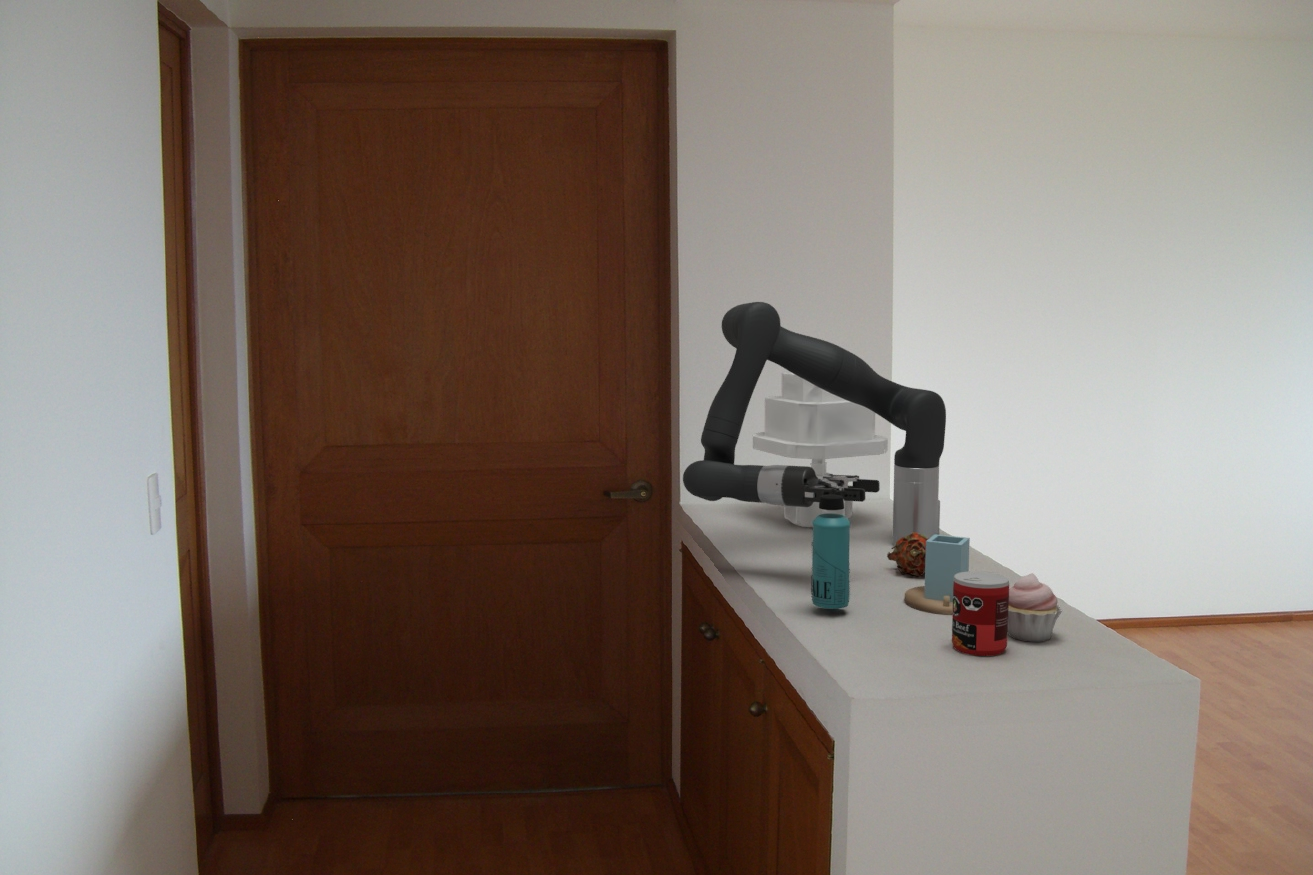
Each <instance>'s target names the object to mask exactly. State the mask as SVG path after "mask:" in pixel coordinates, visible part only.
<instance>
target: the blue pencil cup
mask: <svg viewBox="0 0 1313 875" xmlns="http://www.w3.org/2000/svg"><path fill="white" fill-rule="evenodd" d="M970 541H971V540H970V537H966V536H965V537H963V536H955V535H947V534H946V535H945V534H939V535H936V534H935V535H933V536H932V537H931V538H929V539H928V540H927V541H926V556H925V572H924V586H925V592H924V598H925V599H933V600H941V601H943V596H949V597H950V602H953V584H954V575H955V574H957V573H961V572H968V571H969V566H970V564H969V563H970Z"/></svg>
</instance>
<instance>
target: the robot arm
mask: <svg viewBox="0 0 1313 875" xmlns="http://www.w3.org/2000/svg"><path fill="white" fill-rule="evenodd" d="M722 317H723V318H722V319H721V330H722V334H723V337H724V339H725V340H726V341H727V343H728V344H729V345H731V346H732V347H733V348H734V349H735V354H734V358H733V361H732V364H731V366H730V368H729V370H728V373H727V374H726V376H725V377H724V378H725V379H724V380H723V382H722V384H721V385H720V387H719V389H718V391H717V392H716V394H715V396H714V397H713V400H712V402H711V404H710V407H709V409H708V412H707V415H706V420H705V422H704V426H703V429H702V432H701V437H700V444H701V445H702V447H703V449H704V454H703V460H696V461H693V462H692V463H690V464H689V465H688V466H687V467H686V468H685V470H684V472H683V474H682V483H683V486H684V488H685V490H687V492H688V493H689V494H690V495H692V496H693V497H697V498H699V499H702V500H706V501H709V502H716V501H719V500H721V499H723V498H729V499H733V500H738V501H741V502H747V503H758V504H760V503H761V504H762V503H763V504H768V505H773V506H781V507H782V506H783V507H784V506H795V507H810V506H811V505H812V504H813V502H819V501H820V496H822V495H840V496H842V497H843V499H844V501H853V502H861V503H862V502H864V501H865V500H866V493H878V492H880V488H881V487H880V480H878V479H865V478H860V475H857V474H855V475H849V474H848V475H846V474H845V475H844V474H833V473H830V475H827V476H823V478H817V477H816V475H815V471H814V469H813V468H812V467H811V466H809V465H808V466H807V465H806V466H805V465H803V466H802V465H785V464H784V465H783V464H772V465H771V464H770V465H757V464H735V458H736V454H735V453H736V446H737V444H738V440H739V438H740V434H741V430H742V428H743V424H744V420H745V416H746V414H747V410H748V407H749V404H750V401H751V399H752V396H753V393H754V392H755V391H754V390H755V388H756V386H757V383H758V381H759V378H760V377H761V374H762V373H763V369H764V367H765V365H766V362H767V361H769V362H771V363H774V364H776V365H778V366H779V367H781V368H784V369H785V370H787V372H792V373H793V374H795V375H797V376H799V377H801V378H802V379H804V380H806V381H808V382H810V383H812V384H813V385H815V386H817V387H819V388H821V389H823V390H825V391H827V392H829V393H831V394H833V395H836V396H838V397H840V398H843V399H845V400H847V401H850V402H853V403H855V404H858V405H861V406H864V407H866V408H868V409H870V410H871V411H873V412H875V415H876V414H877V415H878V416H879V417H881V418H882V419H885V421H887V422H888V423H890V424H891V425H893V426H894V427H895V428H896V429H897V428H898V429H899V430H902V431H904V432H905V439H904V440H905V441H904V444H903V446H902V447H901V448H899V449H898V450H896V451H895V452H894V458H893V460H894V462H893V464H894V465H893V504H892V505H893V507H892V545H893V547H894V546H895V545H896V542H897V541H898V540H899V539H900V538H902V537H906V536H908V535H910V534H912V533H913V532H916V533H920V534H923V535H925V536H926V537H927V538H931V537H932V536H933V535H935V534H936V535H940V524H941V522H940V521H941V520H940V519H941V501H940V499H939V492H940V491H939V486H940V485H939V484H940V481H939V480H940V459H941V456H942V455H943V452H944V447H945V439H946V438H945V436H946V423H947V410H946V409H947V408H946V404H945V402H944V400H943V398H942V397H941V395H940V394H939V393H937V392H935V391H933V390H928V389H922V388H915V387H909V386H905V385H902V384H900V383H897V382H894V381H892V380H889V379H888V378H885V377H884V376H881V375H880V374H878V373H877V372H876V371H875V370H874V369H873V368H872V367H871V366H870V365H869V364H868V363H867V362H866V361H865V360H864V359H862V358H861V357H859V356H858V355H856V354H855V353H853V352H851V351H849V350H847V349H846V348H843V347H841V346H839V345H837V344H835V343H833V342H830V341H827V340H824V339H820V338H817V337H813V336H811V335H810V336H809V335H806V334H802V333H799V332H795V331H792V330H789V329H787V328H785V327H783V326H782V324H781V318H780V314H779V312H778V311H777V309H776V308H775V307H774V306H773V305H772V304H770V303H768V302H765V301H753V302H747V303H742V304H738V305H736V306H734V307H732V308H730V309H729V310H727V312H725V314H724V316H722ZM832 474H833V475H832ZM850 482H852V485H849V483H850Z"/></svg>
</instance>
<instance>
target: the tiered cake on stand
mask: <svg viewBox="0 0 1313 875" xmlns="http://www.w3.org/2000/svg"><path fill="white" fill-rule="evenodd" d="M888 438H889V437H887V436H883V435H877V434H876V413H875V412H873V411H871V410H870V409H868V408H866V407H864V406H861V405H858V404H855V403H853V402H850V401H847V400H845V399H843V398H840V397H838V396H836V395H833V394H831V393H829V392H827V391H825V390H823V389H821V388H819V387H817V386H815V385H813V384H812V383H810V382H808V381H806V380H804V379H802V378H801V377H799V376H797V375H795V374H793V373H792V372H790V371H786V372H785V371H784V372H782V373H781V395H777V396H776V395H774V396H772V395H771V396H767V397H764V431H762V432H756V433H754V434H752V449H753V450H756V451H759V452H764V453H768V454H773V455H776V456H781V457H784V458H788V459H789V458H791V459H805V460H806V459H807V460H811V463H810V467H812V468H813V469H814V471H815V475H816V477H817V478H823V476H827V475H830V474H832V475H834V474H833V473H829V472H827V462H826V460H829V459H830V460H831V459H840V458H841V459H842V458H853V457H855V458H856V457H865V456H866V457H867V456H876V455H877V456H879V455H883V454H886V453H887V452H888V444H889V442H888V440H889V439H888ZM843 500H844V499H843ZM853 502H854V501H844V509H842V510H824V509H820V508H819V502H813V504H812V505H811V506H810V507H795V506H783V513H784V514H783V515H784V519H785V520H788V521H789V522H791V524H793V525H796V526H799V527H802V528H806V527H807V528H813V524H812V523H813V520H814V519H815V518H816V517H817V516H819V515H820V514H828V513H833V514H841V515H843V516H845V517H846V518H847V519H848V520H849V519H850V518H852V516H853V515H852V514H853Z"/></svg>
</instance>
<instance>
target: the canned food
mask: <svg viewBox="0 0 1313 875" xmlns="http://www.w3.org/2000/svg"><path fill="white" fill-rule="evenodd" d="M1009 589H1010V579H1009V577H1007V576H1005V575H1004V574H1000V573H996V572H989V571H982V570H981V571H980V570H979V571H977V570H975V571H974V570H972V571H971V570H970V571H968V572H961V573H957V574H955V575H954V584H953V615H951V616H952V617H951V618H952V619H951V620H952V622H951V623H952V626H951V644H952V646H953V649H955V651H958V652H960V653H963V654H965V655H969V656H976V657H994V656H1000V655H1002V654H1003V653H1006V652H1005V651H1006V649H1007V645H1008V609H1009Z"/></svg>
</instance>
